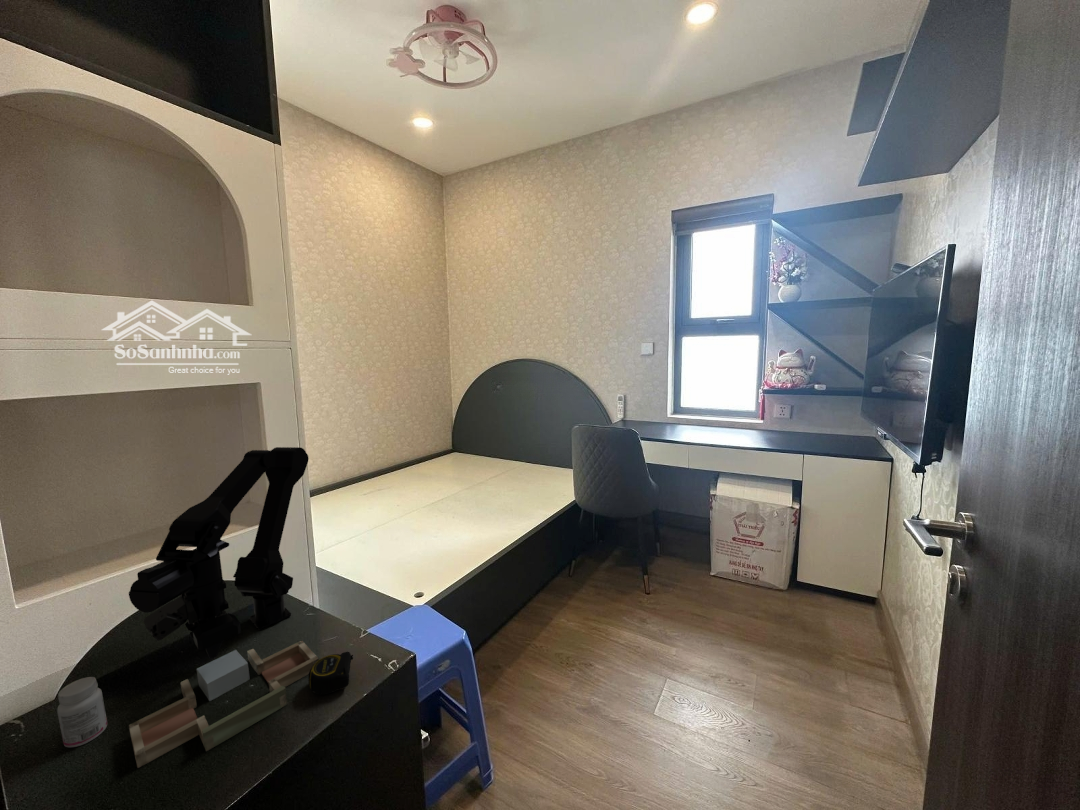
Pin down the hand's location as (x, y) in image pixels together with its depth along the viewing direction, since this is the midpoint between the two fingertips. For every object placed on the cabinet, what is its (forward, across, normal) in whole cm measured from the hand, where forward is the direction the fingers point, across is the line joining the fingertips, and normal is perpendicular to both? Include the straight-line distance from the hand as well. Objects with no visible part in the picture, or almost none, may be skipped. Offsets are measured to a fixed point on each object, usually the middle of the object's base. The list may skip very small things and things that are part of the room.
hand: (212, 656), depth 81 cm
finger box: (+2, +13, 0) cm, 13 cm away
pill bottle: (+2, +3, -17) cm, 17 cm away
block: (+2, +7, 0) cm, 7 cm away
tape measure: (+2, +23, +13) cm, 26 cm away
